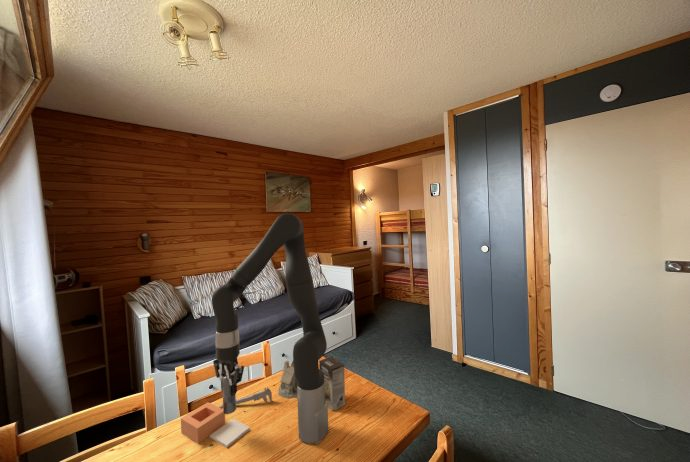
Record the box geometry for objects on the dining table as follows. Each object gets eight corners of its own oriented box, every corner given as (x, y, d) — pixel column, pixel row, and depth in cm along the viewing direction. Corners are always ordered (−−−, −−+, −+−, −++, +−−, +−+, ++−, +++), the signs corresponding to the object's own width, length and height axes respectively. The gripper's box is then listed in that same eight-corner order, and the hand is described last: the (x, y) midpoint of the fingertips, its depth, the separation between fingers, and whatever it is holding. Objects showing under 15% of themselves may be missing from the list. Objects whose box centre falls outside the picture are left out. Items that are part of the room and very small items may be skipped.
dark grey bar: (238, 408, 93) (237, 374, 93) (228, 415, 90) (227, 379, 90) (231, 405, 95) (230, 371, 95) (220, 411, 92) (219, 376, 92)
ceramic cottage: (272, 391, 116) (274, 356, 116) (302, 376, 128) (303, 345, 128) (296, 408, 106) (297, 370, 106) (325, 390, 118) (326, 356, 118)
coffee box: (319, 400, 109) (318, 360, 109) (332, 394, 113) (331, 355, 113) (332, 411, 102) (331, 369, 102) (345, 404, 106) (344, 363, 106)
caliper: (271, 401, 110) (271, 386, 110) (271, 403, 109) (271, 387, 109) (219, 407, 107) (218, 391, 107) (218, 409, 106) (217, 393, 106)
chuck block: (225, 424, 97) (224, 410, 97) (198, 443, 88) (197, 428, 88) (208, 415, 102) (208, 402, 102) (181, 432, 93) (180, 418, 93)
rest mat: (249, 429, 94) (249, 427, 94) (226, 447, 86) (226, 445, 86) (233, 420, 99) (232, 418, 99) (209, 437, 91) (209, 435, 91)
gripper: (250, 342, 92) (251, 392, 92) (224, 335, 99) (225, 381, 99) (231, 351, 85) (232, 405, 86) (204, 342, 93) (206, 392, 93)
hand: (228, 392), depth 92 cm, fingers closed on dark grey bar, 4 cm apart
